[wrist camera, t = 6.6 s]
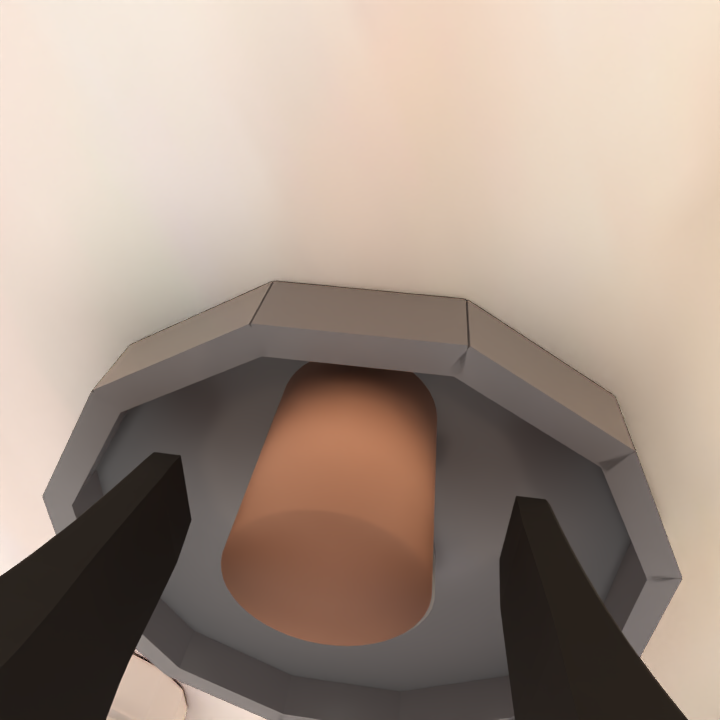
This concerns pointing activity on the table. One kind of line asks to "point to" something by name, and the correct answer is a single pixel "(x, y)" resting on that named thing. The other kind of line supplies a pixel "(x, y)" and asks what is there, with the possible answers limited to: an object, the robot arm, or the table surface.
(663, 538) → the groove tray
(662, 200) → the table surface
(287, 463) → the bead terracotta
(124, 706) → the white cup
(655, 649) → the table surface
